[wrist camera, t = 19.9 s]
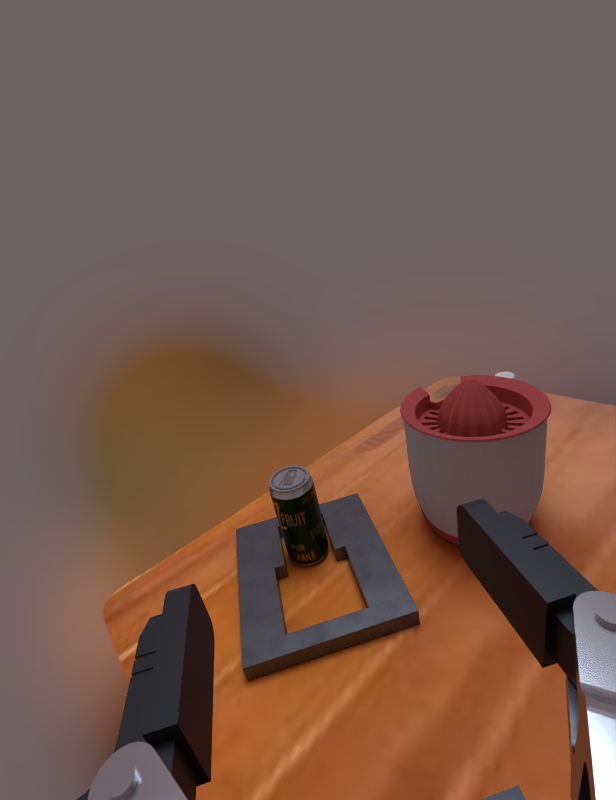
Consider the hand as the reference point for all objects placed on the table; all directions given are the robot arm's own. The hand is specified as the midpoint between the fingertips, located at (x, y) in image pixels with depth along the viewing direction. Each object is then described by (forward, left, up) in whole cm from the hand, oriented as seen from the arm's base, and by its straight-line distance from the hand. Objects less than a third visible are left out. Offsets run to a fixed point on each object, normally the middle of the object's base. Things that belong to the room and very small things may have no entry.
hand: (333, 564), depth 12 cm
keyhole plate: (-2, -28, -30) cm, 41 cm away
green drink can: (-2, -31, -30) cm, 44 cm away
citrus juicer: (-24, -28, -30) cm, 47 cm away
